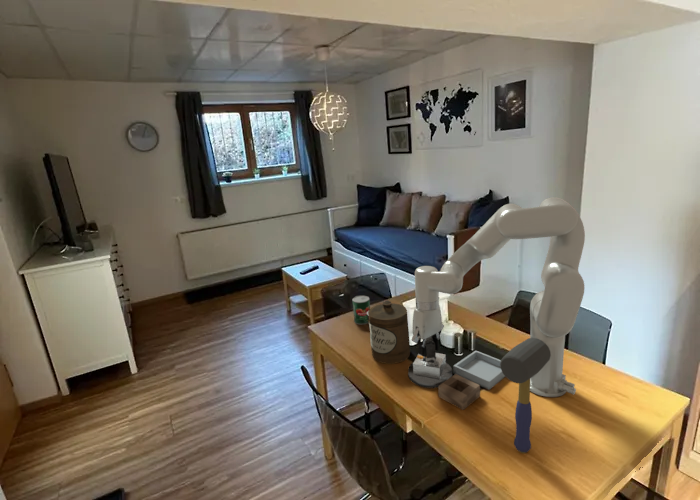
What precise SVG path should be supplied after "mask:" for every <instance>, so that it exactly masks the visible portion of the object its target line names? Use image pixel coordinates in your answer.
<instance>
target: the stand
mask: <svg viewBox="0 0 700 500" xmlns="http://www.w3.org/2000/svg"><path fill="white" fill-rule="evenodd" d="M437 389H438V398H440V399H442V400H444V401H445V402H447V403H449V404H451V405H453V406H454V407H456V408H459V409H460V410H461V411H463V410H466V408H468V407H469V406H470V405H472V404H473V403H474V402H475V401H476V400H477V399H479V398H480V397H481V386H480V385H478V384H476V383H474V382H472V381H470V380H468V379H466V378H463V377H461V376H459V375H457V374H454V375H453V374H452V377H450V378H449V379H448V380H446V381H445V382H443V383H442V384H441V385H439V386H438V388H437Z"/></svg>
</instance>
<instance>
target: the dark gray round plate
mask: <svg viewBox="0 0 700 500" xmlns="http://www.w3.org/2000/svg"><path fill="white" fill-rule="evenodd" d="M413 363H414V361H413V362H412V363H410V364H409V366H408V368H407V375H408V378H409V380H410V381H411V383H413V384H415V385H416V386H418V387H421V388H425V389H438V386H439V385H441V384H442V383H443V382H445V381H446V380H448V379H449V378H450V377H452V376H453V369H452V367H451V365H450V364H449V363H447V362H446V365H445V368H444V370H443V373H442V375H441V377H440V379H437V378H432V377H427V376H421V375H416V374H413Z"/></svg>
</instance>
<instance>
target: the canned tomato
mask: <svg viewBox="0 0 700 500" xmlns="http://www.w3.org/2000/svg"><path fill="white" fill-rule="evenodd" d="M370 302H371V301H370V297H369V296H367V295H356V296H354V297H353V298H352V310H353V312H352V313H353V322H354V323H355V324H356V325H360V326H361V325H367V324H369V322H368V317H367V312H368V311H369V310H370V309H371V304H370Z"/></svg>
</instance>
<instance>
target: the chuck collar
mask: <svg viewBox="0 0 700 500" xmlns="http://www.w3.org/2000/svg"><path fill="white" fill-rule="evenodd" d="M446 356H447V355H446V354H443V353H439V352H436V358H435V362H434V363H431V362H425V361H424V356H422V355H420V354H419V353H418V354H417V356H416V358H415V359H414V361H413V362H414V363H413V362H412V363H413V374H416V375H421V376H427V377H432V378H437V379H440V377H441V375H442V373H443V370H444V368H445V365H446V363H447V361H446V360H447V357H446Z"/></svg>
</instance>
